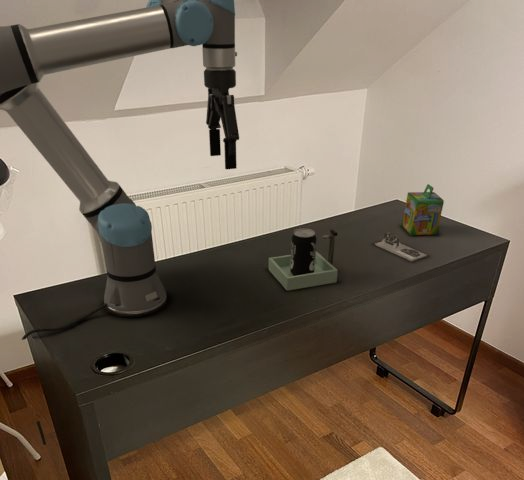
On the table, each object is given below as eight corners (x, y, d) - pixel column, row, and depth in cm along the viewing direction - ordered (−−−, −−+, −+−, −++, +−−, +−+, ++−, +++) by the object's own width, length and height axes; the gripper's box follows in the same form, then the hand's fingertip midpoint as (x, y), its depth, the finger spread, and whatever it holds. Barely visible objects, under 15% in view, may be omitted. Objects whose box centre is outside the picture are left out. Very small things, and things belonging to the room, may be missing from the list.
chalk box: (401, 226, 177) (408, 181, 169) (427, 225, 178) (435, 181, 170) (410, 236, 170) (418, 190, 161) (437, 235, 170) (447, 189, 162)
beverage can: (305, 281, 141) (308, 239, 134) (285, 274, 144) (287, 233, 137) (318, 272, 145) (321, 231, 139) (298, 266, 149) (300, 226, 142)
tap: (322, 274, 146) (325, 234, 139) (318, 270, 148) (321, 230, 141) (334, 272, 147) (338, 232, 140) (330, 268, 149) (333, 229, 142)
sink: (286, 290, 138) (287, 278, 136) (268, 269, 148) (268, 257, 146) (336, 282, 142) (337, 270, 140) (315, 262, 152) (316, 250, 150)
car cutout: (374, 244, 164) (376, 231, 161) (389, 240, 167) (391, 226, 164) (411, 261, 153) (414, 247, 151) (426, 256, 157) (429, 242, 154)
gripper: (252, 74, 114) (252, 173, 126) (219, 62, 134) (222, 149, 145) (219, 75, 112) (222, 176, 124) (191, 63, 131) (196, 151, 143)
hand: (222, 161), depth 135 cm, fingers open, 13 cm apart
